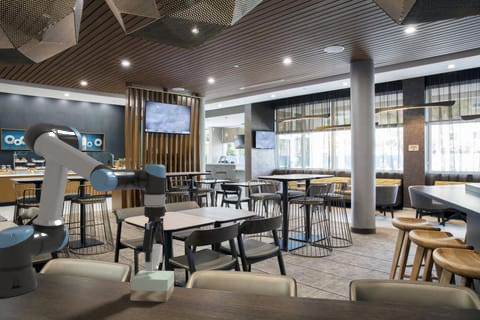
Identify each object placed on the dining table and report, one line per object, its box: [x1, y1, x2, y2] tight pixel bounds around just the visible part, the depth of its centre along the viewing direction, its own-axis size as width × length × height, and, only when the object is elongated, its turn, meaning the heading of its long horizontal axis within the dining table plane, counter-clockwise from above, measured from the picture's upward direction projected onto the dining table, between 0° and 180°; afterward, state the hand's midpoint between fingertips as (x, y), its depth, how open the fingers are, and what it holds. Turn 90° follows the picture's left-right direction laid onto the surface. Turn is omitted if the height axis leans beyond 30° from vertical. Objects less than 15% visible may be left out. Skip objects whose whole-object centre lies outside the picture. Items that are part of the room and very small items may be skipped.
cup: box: [144, 243, 164, 271], centre depth 120 cm, size 7×10×8 cm
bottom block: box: [129, 282, 175, 303], centre depth 120 cm, size 13×10×4 cm
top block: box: [130, 269, 175, 291], centre depth 120 cm, size 13×10×4 cm
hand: (153, 266), depth 120 cm, fingers closed on cup, 10 cm apart
